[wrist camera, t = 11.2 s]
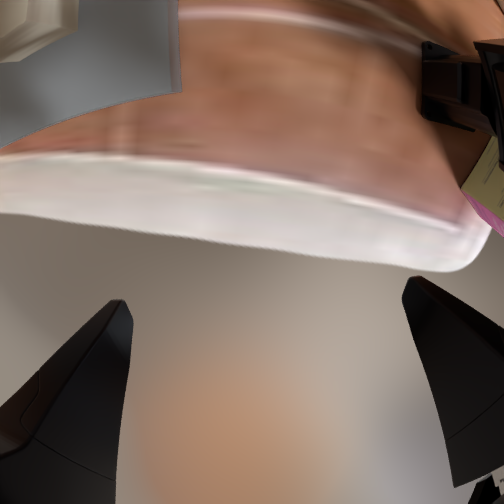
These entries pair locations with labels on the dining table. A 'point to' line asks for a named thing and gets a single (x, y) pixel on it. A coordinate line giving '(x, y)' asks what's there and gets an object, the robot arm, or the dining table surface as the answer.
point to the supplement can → (501, 4)
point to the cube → (34, 25)
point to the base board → (93, 66)
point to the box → (487, 187)
